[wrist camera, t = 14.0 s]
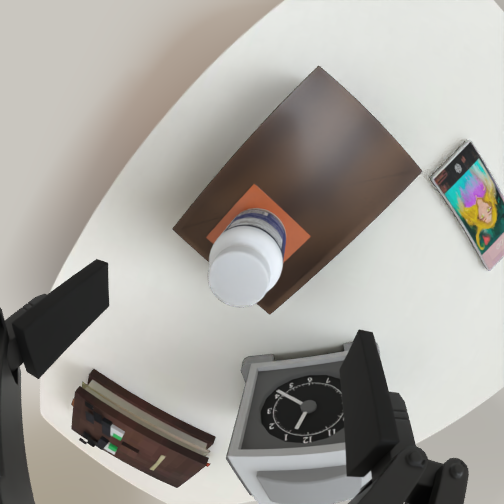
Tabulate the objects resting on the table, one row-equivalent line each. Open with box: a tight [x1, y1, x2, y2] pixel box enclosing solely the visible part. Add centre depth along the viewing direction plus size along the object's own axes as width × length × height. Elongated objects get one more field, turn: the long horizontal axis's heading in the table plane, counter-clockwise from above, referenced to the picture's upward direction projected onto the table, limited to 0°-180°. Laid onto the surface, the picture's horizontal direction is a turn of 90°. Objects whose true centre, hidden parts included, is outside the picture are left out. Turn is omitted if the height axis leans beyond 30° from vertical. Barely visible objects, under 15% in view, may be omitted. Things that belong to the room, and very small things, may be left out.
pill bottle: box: [208, 208, 286, 307], centre depth 24 cm, size 5×5×10 cm
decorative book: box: [71, 369, 215, 488], centre depth 48 cm, size 19×8×30 cm
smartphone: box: [431, 140, 504, 271], centre depth 28 cm, size 7×1×15 cm
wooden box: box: [173, 66, 422, 314], centre depth 29 cm, size 13×21×5 cm, turn 138°
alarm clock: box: [226, 342, 380, 504], centre depth 32 cm, size 18×13×18 cm
